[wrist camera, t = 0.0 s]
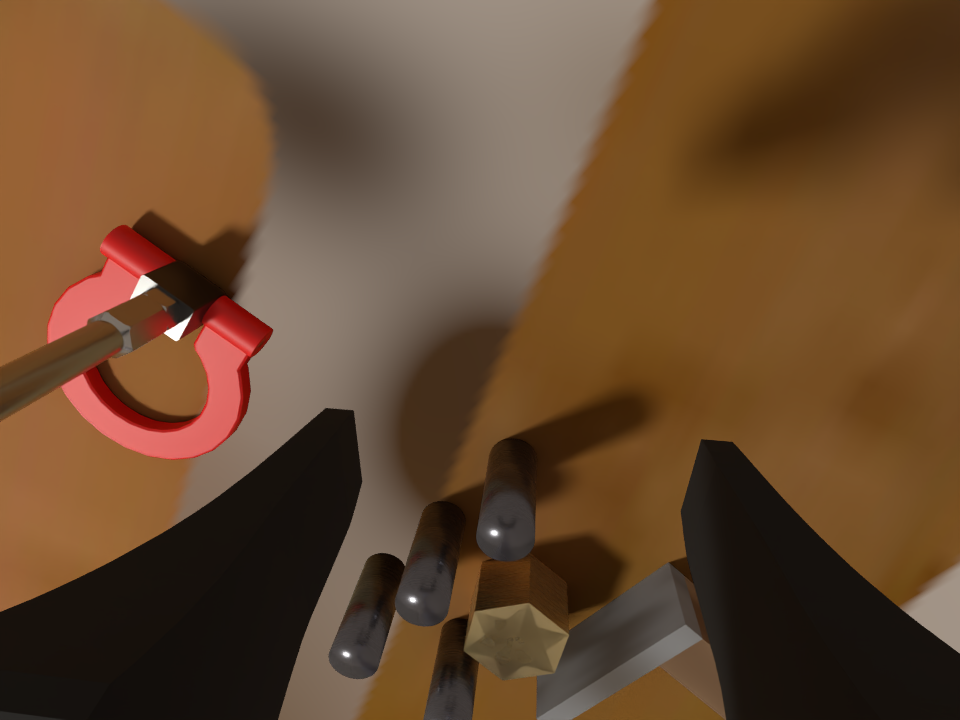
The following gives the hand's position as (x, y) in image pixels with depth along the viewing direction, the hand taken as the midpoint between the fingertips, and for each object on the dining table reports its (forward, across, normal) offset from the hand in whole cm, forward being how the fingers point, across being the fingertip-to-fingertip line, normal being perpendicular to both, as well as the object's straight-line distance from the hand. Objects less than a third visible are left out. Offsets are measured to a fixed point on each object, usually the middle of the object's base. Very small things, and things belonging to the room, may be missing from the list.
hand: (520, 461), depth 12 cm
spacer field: (+8, +1, +13) cm, 16 cm away
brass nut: (+8, 0, +15) cm, 17 cm away
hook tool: (+8, -7, +18) cm, 21 cm away
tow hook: (+10, +15, +5) cm, 19 cm away
